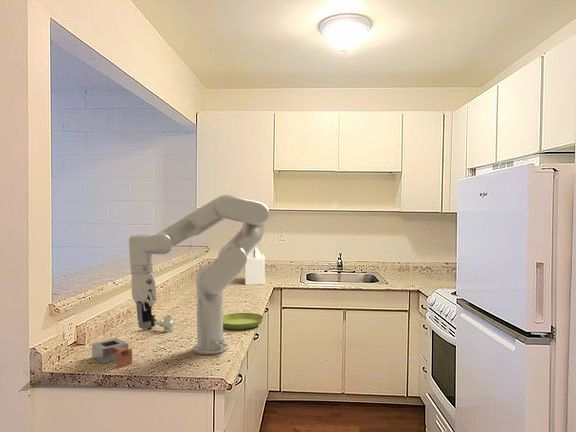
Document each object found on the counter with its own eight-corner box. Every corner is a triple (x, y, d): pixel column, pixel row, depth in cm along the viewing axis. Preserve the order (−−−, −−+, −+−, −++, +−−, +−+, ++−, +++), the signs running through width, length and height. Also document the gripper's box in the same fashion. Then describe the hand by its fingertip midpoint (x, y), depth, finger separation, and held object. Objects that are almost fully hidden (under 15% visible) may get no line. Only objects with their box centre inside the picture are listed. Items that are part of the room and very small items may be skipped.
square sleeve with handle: (92, 357, 157) (92, 343, 157) (117, 351, 164) (116, 338, 164) (111, 369, 146) (111, 354, 146) (137, 362, 152) (137, 347, 152)
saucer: (261, 318, 213) (261, 311, 213) (266, 330, 192) (266, 322, 192) (217, 320, 209) (217, 313, 209) (217, 332, 189) (217, 325, 189)
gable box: (246, 279, 323) (246, 241, 322) (265, 279, 324) (264, 240, 323) (245, 285, 301) (244, 243, 300) (264, 284, 301) (264, 243, 301)
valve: (177, 330, 192) (154, 327, 197) (176, 314, 192) (154, 312, 197) (167, 334, 186) (144, 331, 191) (167, 318, 186) (144, 316, 191)
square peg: (151, 326, 160) (149, 301, 159) (143, 328, 157) (141, 303, 157) (147, 325, 162) (145, 300, 161) (138, 327, 160) (136, 302, 159)
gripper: (163, 269, 156) (166, 321, 156) (140, 266, 167) (143, 314, 168) (142, 272, 150) (146, 326, 151) (121, 269, 162) (124, 319, 163)
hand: (144, 320), depth 160 cm, fingers closed on square peg, 3 cm apart
